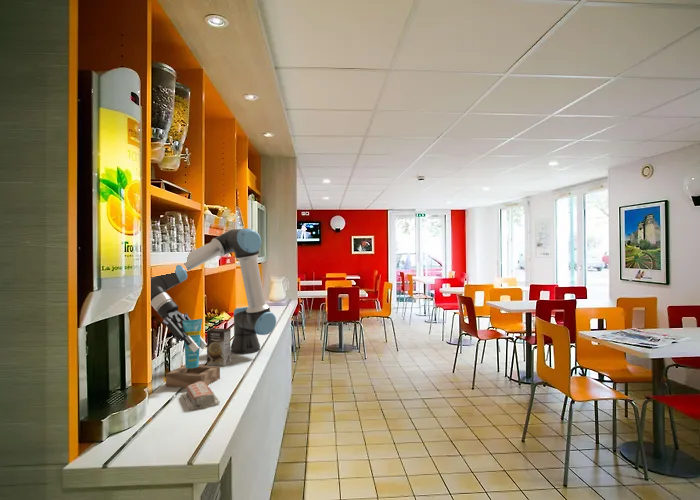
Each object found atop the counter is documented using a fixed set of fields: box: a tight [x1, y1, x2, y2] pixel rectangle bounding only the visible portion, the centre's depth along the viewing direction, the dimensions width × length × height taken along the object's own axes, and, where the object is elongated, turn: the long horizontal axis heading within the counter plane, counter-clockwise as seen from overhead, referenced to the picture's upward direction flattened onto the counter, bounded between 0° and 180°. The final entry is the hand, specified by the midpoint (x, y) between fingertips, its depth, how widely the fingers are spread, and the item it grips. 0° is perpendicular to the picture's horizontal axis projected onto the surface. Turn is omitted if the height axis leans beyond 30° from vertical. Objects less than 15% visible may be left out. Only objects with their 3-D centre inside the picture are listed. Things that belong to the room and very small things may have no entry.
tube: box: [181, 318, 203, 368], centre depth 167 cm, size 7×5×19 cm, turn 123°
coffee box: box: [206, 327, 232, 367], centre depth 195 cm, size 9×6×16 cm
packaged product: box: [181, 381, 220, 411], centre depth 148 cm, size 18×5×10 cm
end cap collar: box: [165, 364, 221, 389], centre depth 167 cm, size 14×16×5 cm
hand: (200, 348), depth 166 cm, fingers closed on tube, 5 cm apart
